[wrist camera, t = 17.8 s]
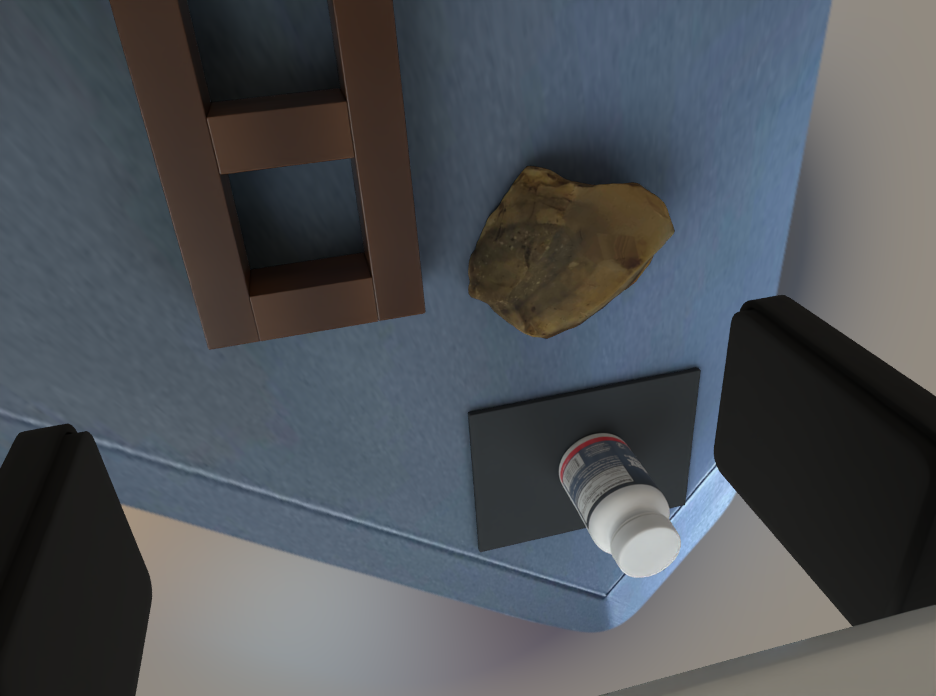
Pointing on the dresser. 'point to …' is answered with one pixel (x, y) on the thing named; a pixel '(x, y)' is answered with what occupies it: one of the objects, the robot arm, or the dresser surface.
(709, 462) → the dresser surface
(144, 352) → the dresser surface
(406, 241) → the stand
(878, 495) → the robot arm
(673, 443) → the mat
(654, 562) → the pill bottle
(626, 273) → the decorative stone
